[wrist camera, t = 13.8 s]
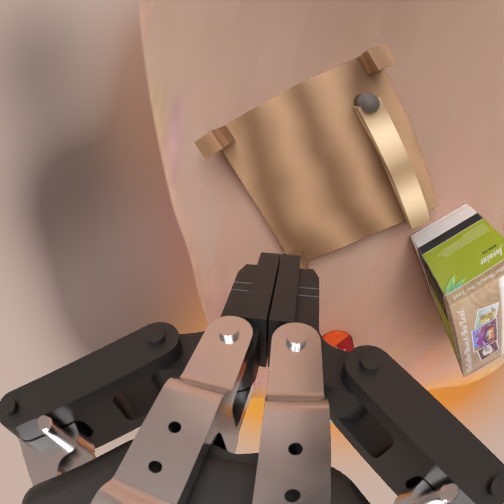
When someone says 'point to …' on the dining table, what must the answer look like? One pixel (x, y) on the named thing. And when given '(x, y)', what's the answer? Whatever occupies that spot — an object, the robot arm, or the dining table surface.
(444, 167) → the dining table surface
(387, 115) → the tan curved wooden piece
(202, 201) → the dining table surface
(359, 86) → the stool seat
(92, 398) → the robot arm
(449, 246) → the tea box
